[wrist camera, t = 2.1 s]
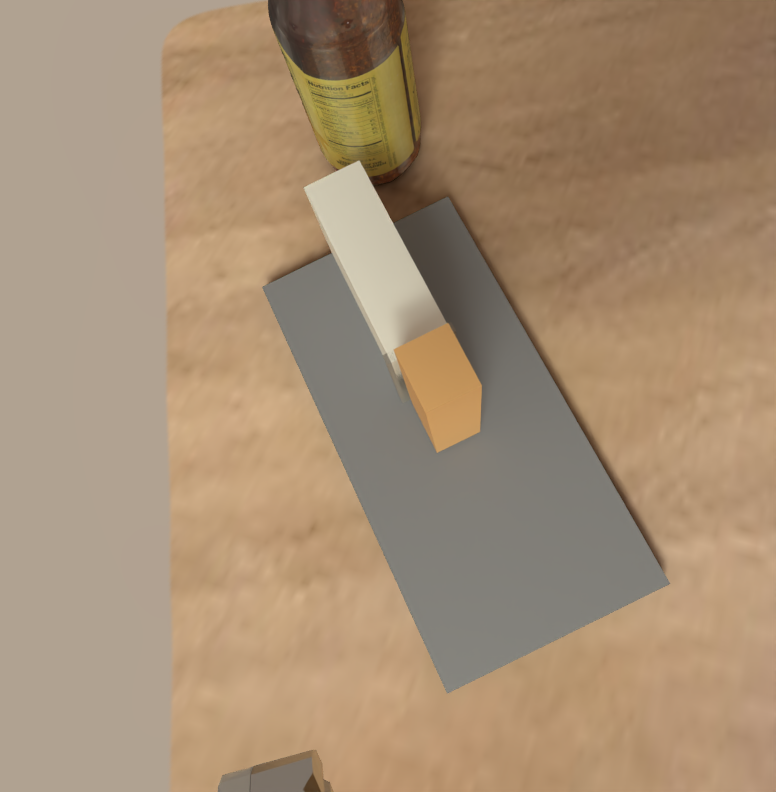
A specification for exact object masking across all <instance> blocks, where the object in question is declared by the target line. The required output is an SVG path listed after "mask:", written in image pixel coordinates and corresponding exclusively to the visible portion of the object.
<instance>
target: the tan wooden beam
mask: <svg viewBox="0 0 776 792" xmlns="http://www.w3.org/2000/svg"><path fill="white" fill-rule="evenodd" d="M393 350H394V353H395V355H396V358H397V361H398V364H399V367H400V370H401V373H402V375H403V378H404V381H405V384H406V387H407V390H408V393H409V396H410V398H411V401H412V404H413V406H414V408H415V410H416V412H417V414H418V416H419V418H420V420H421V422H422V424H423V426H424V428H425V430H426V432H427V434H428V436H429V438H430V440H431V442H432V444H433V446H434V448H435V450H436V452H437V453H438V452H440V451H442V450H444V449H446V448H448V447H450V446H452V445H454V444H456V443H458V442H460V441H463V440H465V439H467V438H469V437H471V436H473V435H475V434H477V433H479V432H480V421H481V397H482V385H481V383H480V381H479V379H478V377H477V375H476V373H475V372H474V370H473V368H472V366H471V364H470V362H469V360H468V359H467V357H466V355H465V353H464V351H463V349H462V347H461V346H460V344H459V342H458V340H457V338H456V336H455V334H454V333H453V331H452V329H451V327H450V325H449V323H447V324H445V325H442V326H440V327H438V328H436V329H434V330H432V331H430V332H428V333H426V334H424V335H422V336H420V337H418V338H416V339H414V340H412V341H410V342H408V343H406V344H404V345H402V346H400V347H398V348H395V349H393Z"/></svg>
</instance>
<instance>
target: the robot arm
mask: <svg viewBox="0 0 776 792" xmlns="http://www.w3.org/2000/svg"><path fill="white" fill-rule="evenodd" d="M218 792H333V789H332V786H331V784H330V782H328V781H326V780H324V779H323V767H322V762H321V760H320V758H319V755H318V753H317V751H316V750H311V751H307V752H303V753H300V754H296V755H292V756H289V757H285V758H281V759H278V760H274V761H270V762H267V763H263V764H259V765H256V766H253V767H250V768H246V769H243V770H239V771H235V772H232V773H228V774H225V775H222V778H221V781H220V783H219V786H218Z"/></svg>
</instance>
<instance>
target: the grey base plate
mask: <svg viewBox="0 0 776 792" xmlns="http://www.w3.org/2000/svg"><path fill="white" fill-rule="evenodd" d="M303 188H304V190H305V192H306V194H307V197H308V199H309V201H310V204H311V206H312V208H313V211H314V213H315V215H316V218H317V220H318V222H319V224H320V227H321V229H322V231H323V234H324V236H325V238H326V241H327V243H328V245H329V247H330V250H331V252H332V253H331V254H329V255H327V256H325V257H323V258H321V259H319V260H317V261H314V262H312V263H310V264H308V265H306V266H304V267H302V268H300V269H298V270H296V271H294V272H292V273H290V274H288V275H286V276H284V277H282V278H280V279H278V280H276V281H273V282H271V283H269V284H267V285H265V286H263V287H262V288H263V290H264V292H265V294H266V297H267V299H268V301H269V303H270V305H271V308H272V310H273V312H274V314H275V316H276V319H277V321H278V323H279V325H280V327H281V330H282V332H283V334H284V336H285V338H286V341H287V343H288V345H289V347H290V349H291V352H292V354H293V356H294V358H295V360H296V362H297V365H298V367H299V369H300V371H301V373H302V376H303V378H304V380H305V382H306V384H307V387H308V389H309V391H310V393H311V395H312V398H313V400H314V402H315V404H316V406H317V409H318V411H319V413H320V415H321V417H322V420H323V422H324V424H325V426H326V428H327V431H328V433H329V435H330V437H331V439H332V441H333V444H334V446H335V448H336V450H337V452H338V455H339V457H340V459H341V461H342V463H343V466H344V468H345V470H346V472H347V474H348V477H349V479H350V481H351V483H352V485H353V488H354V490H355V492H356V494H357V496H358V499H359V501H360V503H361V505H362V507H363V510H364V512H365V514H366V516H367V518H368V521H369V523H370V525H371V527H372V529H373V531H374V534H375V536H376V538H377V540H378V542H379V545H380V547H381V549H382V551H383V553H384V556H385V558H386V560H387V562H388V564H389V567H390V569H391V571H392V573H393V575H394V578H395V580H396V582H397V584H398V586H399V589H400V591H401V593H402V595H403V597H404V600H405V602H406V604H407V606H408V608H409V611H410V613H411V615H412V617H413V619H414V621H415V624H416V626H417V628H418V630H419V632H420V635H421V637H422V639H423V641H424V643H425V646H426V648H427V650H428V652H429V654H430V657H431V659H432V661H433V663H434V665H435V668H436V670H437V672H438V674H439V676H440V679H441V681H442V683H443V685H444V687H445V690H446V692H447V693H449V692H451V691H453V690H455V689H457V688H459V687H462V686H464V685H466V684H468V683H470V682H472V681H474V680H476V679H478V678H480V677H482V676H484V675H486V674H488V673H490V672H492V671H494V670H496V669H498V668H500V667H502V666H504V665H506V664H508V663H510V662H512V661H514V660H516V659H518V658H520V657H522V656H524V655H527V654H529V653H531V652H533V651H535V650H537V649H539V648H541V647H543V646H545V645H547V644H549V643H551V642H553V641H555V640H557V639H559V638H561V637H563V636H565V635H567V634H569V633H571V632H573V631H575V630H577V629H579V628H581V627H583V626H585V625H587V624H589V623H592V622H594V621H596V620H598V619H600V618H602V617H604V616H606V615H608V614H610V613H612V612H614V611H616V610H618V609H620V608H622V607H624V606H626V605H628V604H630V603H632V602H634V601H636V600H638V599H640V598H642V597H644V596H646V595H648V594H650V593H652V592H654V591H657V590H659V589H661V588H663V587H665V586H667V585H669V584H670V583H669V581H668V579H667V577H666V576H665V574H664V572H663V570H662V569H661V567H660V565H659V563H658V562H657V560H656V558H655V556H654V555H653V553H652V551H651V550H650V548H649V546H648V544H647V543H646V541H645V539H644V537H643V536H642V534H641V532H640V530H639V529H638V527H637V525H636V523H635V522H634V520H633V518H632V516H631V515H630V513H629V511H628V509H627V508H626V506H625V504H624V502H623V501H622V499H621V497H620V495H619V494H618V492H617V490H616V488H615V487H614V485H613V483H612V482H611V480H610V478H609V476H608V475H607V473H606V471H605V469H604V468H603V466H602V464H601V462H600V461H599V459H598V457H597V455H596V454H595V452H594V450H593V448H592V447H591V445H590V443H589V441H588V440H587V438H586V436H585V434H584V433H583V431H582V429H581V427H580V426H579V424H578V422H577V420H576V419H575V417H574V415H573V414H572V412H571V410H570V408H569V407H568V405H567V403H566V401H565V400H564V398H563V396H562V394H561V393H560V391H559V389H558V387H557V386H556V384H555V382H554V380H553V379H552V377H551V375H550V373H549V372H548V370H547V368H546V366H545V365H544V363H543V361H542V359H541V358H540V356H539V354H538V352H537V351H536V349H535V347H534V346H533V344H532V342H531V340H530V339H529V337H528V335H527V333H526V332H525V330H524V328H523V326H522V325H521V323H520V321H519V319H518V318H517V316H516V314H515V312H514V311H513V309H512V307H511V305H510V304H509V302H508V300H507V298H506V297H505V295H504V293H503V291H502V290H501V288H500V286H499V284H498V283H497V281H496V279H495V278H494V276H493V274H492V272H491V271H490V269H489V267H488V265H487V264H486V262H485V260H484V258H483V257H482V255H481V253H480V251H479V250H478V248H477V246H476V244H475V243H474V241H473V239H472V237H471V236H470V234H469V232H468V230H467V229H466V227H465V225H464V223H463V222H462V220H461V218H460V216H459V215H458V213H457V211H456V210H455V208H454V206H453V204H452V203H451V201H450V199H449V197H446V198H444V199H442V200H439V201H437V202H435V203H433V204H431V205H429V206H427V207H425V208H423V209H421V210H419V211H417V212H415V213H413V214H411V215H409V216H407V217H405V218H403V219H401V220H399V221H396V222H394V223H393V222H392V220H391V219H390V217H389V215H388V213H387V211H386V209H385V207H384V205H383V204H382V202H381V200H380V198H379V196H378V194H377V192H376V191H375V189H374V187H373V185H372V183H371V181H370V179H369V178H368V176H367V174H366V172H365V170H364V168H363V166H362V165H361V163H360V161H357V162H355V163H353V164H351V165H348V166H346V167H344V168H342V169H340V170H338V171H336V172H334V173H332V174H330V175H328V176H326V177H324V178H322V179H320V180H318V181H316V182H314V183H312V184H309V185H307V186H305V187H303ZM447 323H449V325H450V327H451V329H452V331H453V333H454V334H455V336H456V338H457V340H458V342H459V344H460V346H461V347H462V349H463V351H464V353H465V355H466V357H467V359H468V360H469V362H470V364H471V366H472V368H473V370H474V372H475V373H476V375H477V377H478V379H479V381H480V383H481V385H482V397H481V421H480V432H479V433H477V434H475V435H473V436H471V437H469V438H467V439H465V440H463V441H460V442H458V443H456V444H454V445H452V446H450V447H448V448H446V449H444V450H442V451H440V452H438V453H437V452H436V450H435V448H434V446H433V444H432V442H431V440H430V438H429V436H428V434H427V432H426V430H425V428H424V426H423V424H422V422H421V420H420V418H419V416H418V414H417V412H416V410H415V408H414V406H413V404H412V401H411V398H410V396H409V393H408V390H407V387H406V384H405V381H404V378H403V375H402V373H401V370H400V367H399V364H398V361H397V358H396V355H395V353H394V350H393V349H395V348H398V347H400V346H402V345H404V344H406V343H408V342H410V341H412V340H414V339H416V338H418V337H420V336H422V335H424V334H426V333H428V332H430V331H432V330H434V329H436V328H438V327H440V326H442V325H445V324H447Z"/></svg>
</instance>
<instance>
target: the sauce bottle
mask: <svg viewBox="0 0 776 792" xmlns="http://www.w3.org/2000/svg"><path fill="white" fill-rule="evenodd" d="M268 10H269V17H270V21H271V25H272V28H273V31H274V33H275V36H276V38H277V41H278V43H279V46H280V48H281V51H282V54H283V55H284V58H285V60H286V63H287V66H288V68H289V71H290V73H291V77H292V79H293V81H294V84H295V86H296V89H297V91H298V93H299V95H300V98H301V100H302V104H303V106H304V108H305V111H306V113H307V116H308V118H309V121H310V123H311V126H312V128H313V131H314V133H315V136H316V139H317V141H318V143H319V146H320V148H321V150H322V152H323V154H324V156H325V158H326V159H327V160H328V161H329V162H330V164H332V166H333V168H334V169H335V170H336V171H338V170H340V169H342V168H344V167H346V166H348V165H351V164H353V163H355V162H357V161H360V163H361V165H362V166H363V168H364V170H365V172H366V174H367V176H368V178H369V179H370V181H371V183H372V184H375V185H378V184H382V183H387V182H391V181H393V180H394V179H395V178H397V177H398V176H399V175H401V174H402V173H403V172H404V171H405V170H406V169H407V168H408V167H409V166H410V164H411V163H412V162H413V161H414V159H415V158H416V157H417V155H418V151H419V147H420V129H421V119H420V111H419V104H418V97H417V90H416V83H415V77H414V70H413V63H412V56H411V49H410V43H409V36H408V29H407V22H406V15H405V9H404V4H403V1H402V0H268Z"/></svg>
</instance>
